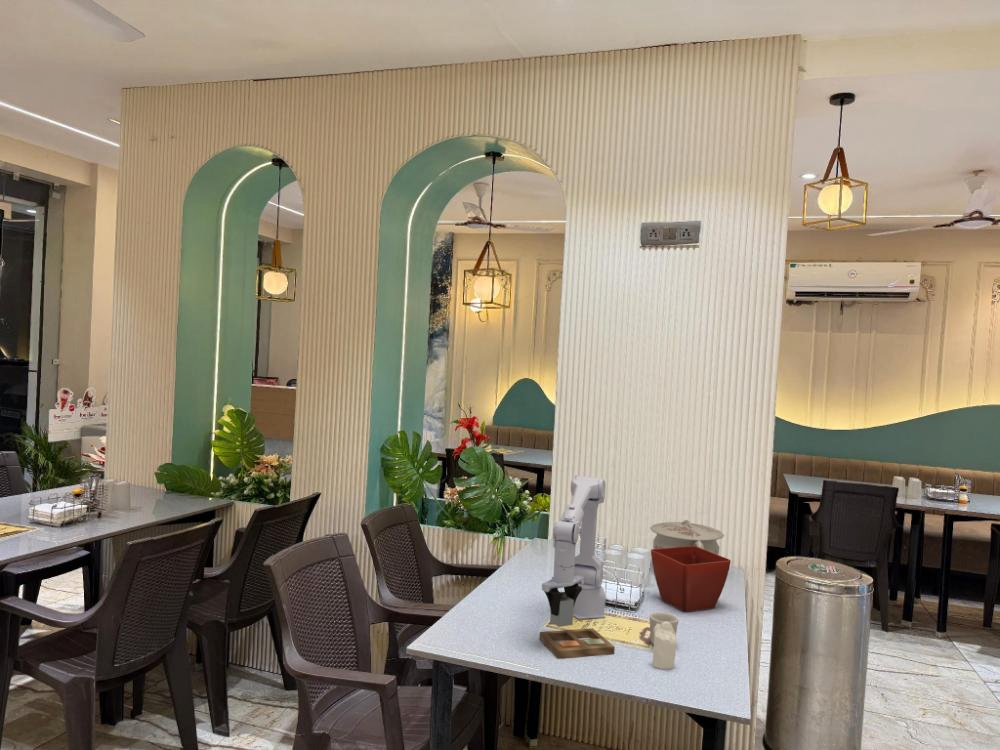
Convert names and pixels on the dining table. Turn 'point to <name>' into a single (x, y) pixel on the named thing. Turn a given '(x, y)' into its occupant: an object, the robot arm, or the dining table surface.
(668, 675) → the dining table surface
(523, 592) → the dining table surface
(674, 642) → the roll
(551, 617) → the plug
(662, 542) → the chamber pot
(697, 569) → the plant pot
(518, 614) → the dining table surface
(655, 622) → the cup
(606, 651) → the socket board
